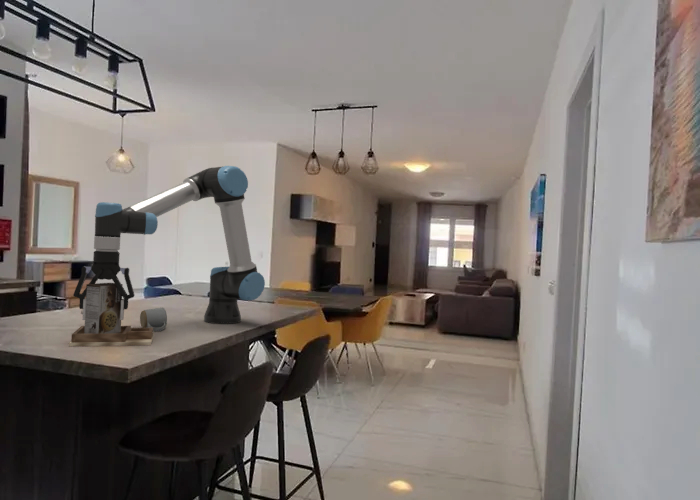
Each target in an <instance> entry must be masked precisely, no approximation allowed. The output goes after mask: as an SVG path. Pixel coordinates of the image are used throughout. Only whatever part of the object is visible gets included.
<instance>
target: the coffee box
mask: <svg viewBox="0 0 700 500" xmlns="http://www.w3.org/2000/svg"><path fill="white" fill-rule="evenodd" d="M85 285H86V286H85V289H86V297H85V298H86V307H85V320H84V326H85V330H84V334H105V333H120V332H121V326H122V320H120V314H121V300H122V299H123V296H122V295H121V293H120V291H119V290H118V288H117V286H116V285H115V283H114V282H96V283H95V284H89V283H87V284H85ZM121 285H122V286H123V284H122V283H121Z"/></svg>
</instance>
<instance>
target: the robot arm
mask: <svg viewBox="0 0 700 500" xmlns="http://www.w3.org/2000/svg"><path fill="white" fill-rule="evenodd" d="M248 186H249V180H248V177H247V175H246V173H245V172H244V171H243V170H242V169H241V168H239V167H238V166H234V165H224V166H217V167H208V168H206V169H203V170H201V171H199V172H196V173H195V174H192V175H191V176H189V177H187V178H185V179H183V181H182V183H179V184H176V185H175V186H172V187H171V188H169V189H166V190H164V191H161V192H159V193H157V194H155V195H153V196H150V197H147V198H146V199H143V200H142V201H139V202H137V203H134V204H132V205H130V206H127V207H125V208H124V209H123V205H122V204H121V203H116V202H108V201H107V202H103V201H102V202H101V201H100V202H98V203H97V204H96V208H95V214H94V217H95V218H94V219H95V220H94V221H95V222H94V238H93V239H94V241H93V242H94V243H93V249H94V251H93V259H92V265H91V266H85V265H84V266H82V267H81V275H80V276H79V277H80V278H79V279H78V282H77V284H76V287H75V290H74V293H73V298H78V299H79V306H78V307H79V310H82V309H83V314H82V319H81V320H82V321H85V307H86V288H85V289H84V290H83V291H81V290H82V288H83V286H84V282H85V281H86V278H87V275H88V274H89V273H90V272H91V271H92V273H93V274H94V276H93V277H92V279H91V280H90V281H89V283H88V284H96V283H97V282H98V280H101V281H102V280H108V281H110V280H112V283H115V285H116V286H117V288H118V290H119V291H120V293H121V295H122V300H121V314H120V320H121V321H124V319H125V310H128V308H129V299H133V298H134V297H135V291H134V289H133V288H134V287H133V285H132V282H131V281H132V280H131V278H130V268H129V267H121V265H120V252H119V250H120V249H121V235H122V234H128V235H129V234H130V235H143V236H145V235H153V234H154V233H156V232H157V229H158V217H160V216H162V215H164V214H167V213H169V212H171V211H172V210H175V209H176V208H179V207H181V206H184V205H185V204H187V203H189V202H192V201H193V202H198V201H200V200H202V199H206V198H213V200H214V204H215V205H217V206H218V207H219V210H220V216H221V222H222V227H223V234H224V238H225V243H226V250H227V255H228V260H229V266H218V267H217V266H216V267H213V268H212V269H211V270H210V275H209V278H210V279H209V301H208V302H209V303H208V305H207V308H206V310H205V313H204V316H203V317H204V318H203V321H204V322H206V323H211V324H236V323H237V324H238V323H240V322H241V321H242V317H241V312H240V309H239V305H238V300H242V301H255V300H257V299H258V298H260V296H261V295H262V292H264V289H265V286H266V281H265V278H264V275H262V273H260V272H258V268H257V264H256V263H254V262H253V261H252V257H251V256H252V255H251V251H250V244H249V239H248V234H247V226H246V222H245V216H244V210H243V202H244V200H245V198H246V197H245V193H246V192H247V189H248V188H249V187H248ZM119 272H121V274H122V275H123V277H124V280H125V284H126V288H127V291H128V293H127V291H126V290H125V288H124V286H123V285H121V284H122V283H121V281H120V279H119V278H118V276H117V275H118V274H119ZM81 292H82V293H81Z"/></svg>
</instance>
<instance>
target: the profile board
mask: <svg viewBox="0 0 700 500" xmlns="http://www.w3.org/2000/svg"><path fill="white" fill-rule="evenodd" d="M84 330H85V325H81V326H79V328H77V329H76V330H75V331H74V332H73V333H71V340H70V341H69V342H68V347H112V346H115V347H119V346H120V347H121V346H123V347H124V346H125V347H126V346H127V347H128V346H134V347H135V346H151V345H152V342H153V340H154V336H155V332H154V331H153V328H142V327H132V325H121V332H120V333H105V334H84Z"/></svg>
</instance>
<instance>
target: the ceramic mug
mask: <svg viewBox="0 0 700 500" xmlns="http://www.w3.org/2000/svg"><path fill="white" fill-rule="evenodd" d="M139 320H140V321H139V323H140V326H141V327H140V328H153V332H162V331H163V330H164V329H165V328H166V327H167V323H168V315H167V310H166V309H165V307H155V308H148V309H143V310H142V311H141V312H140V316H139Z"/></svg>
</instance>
